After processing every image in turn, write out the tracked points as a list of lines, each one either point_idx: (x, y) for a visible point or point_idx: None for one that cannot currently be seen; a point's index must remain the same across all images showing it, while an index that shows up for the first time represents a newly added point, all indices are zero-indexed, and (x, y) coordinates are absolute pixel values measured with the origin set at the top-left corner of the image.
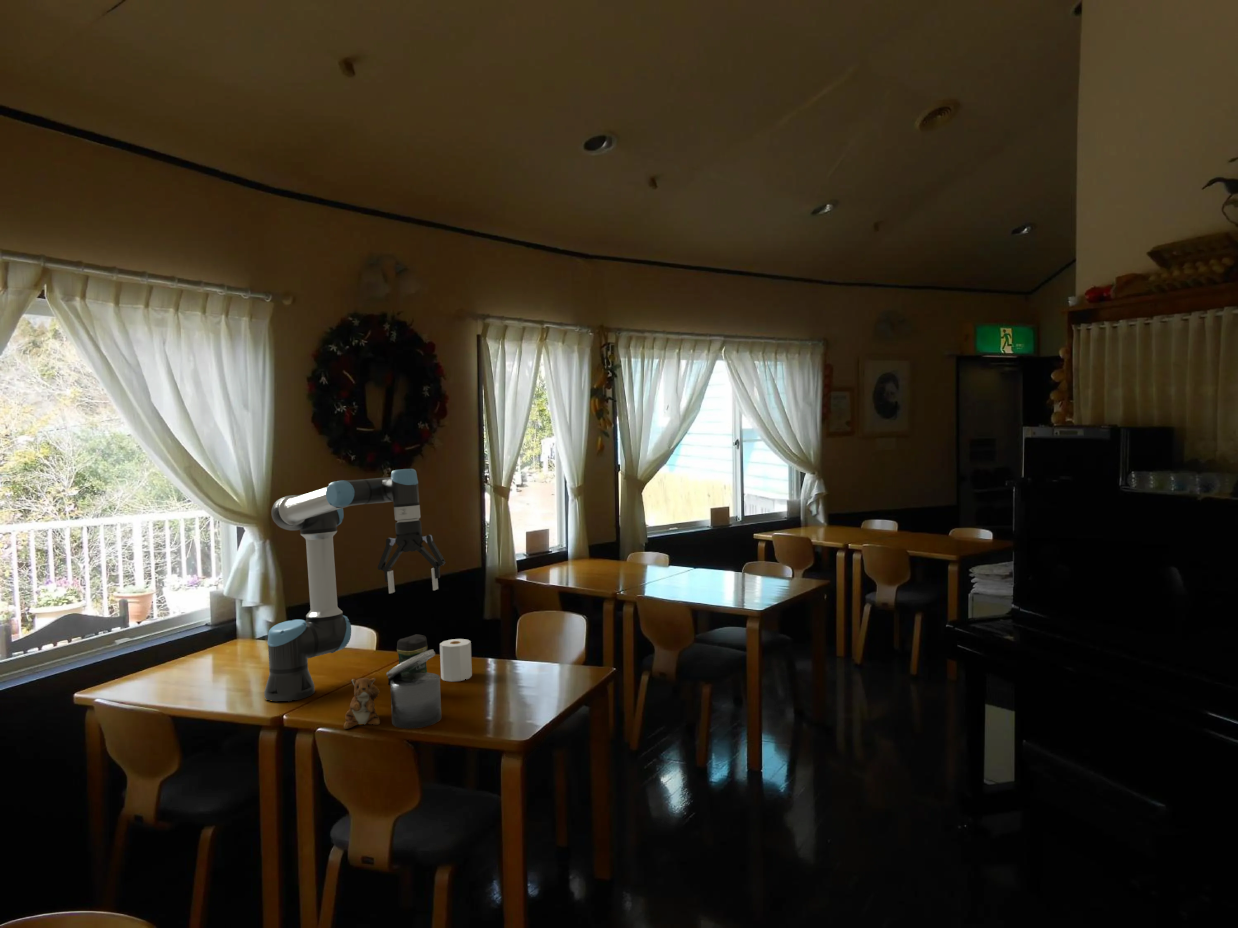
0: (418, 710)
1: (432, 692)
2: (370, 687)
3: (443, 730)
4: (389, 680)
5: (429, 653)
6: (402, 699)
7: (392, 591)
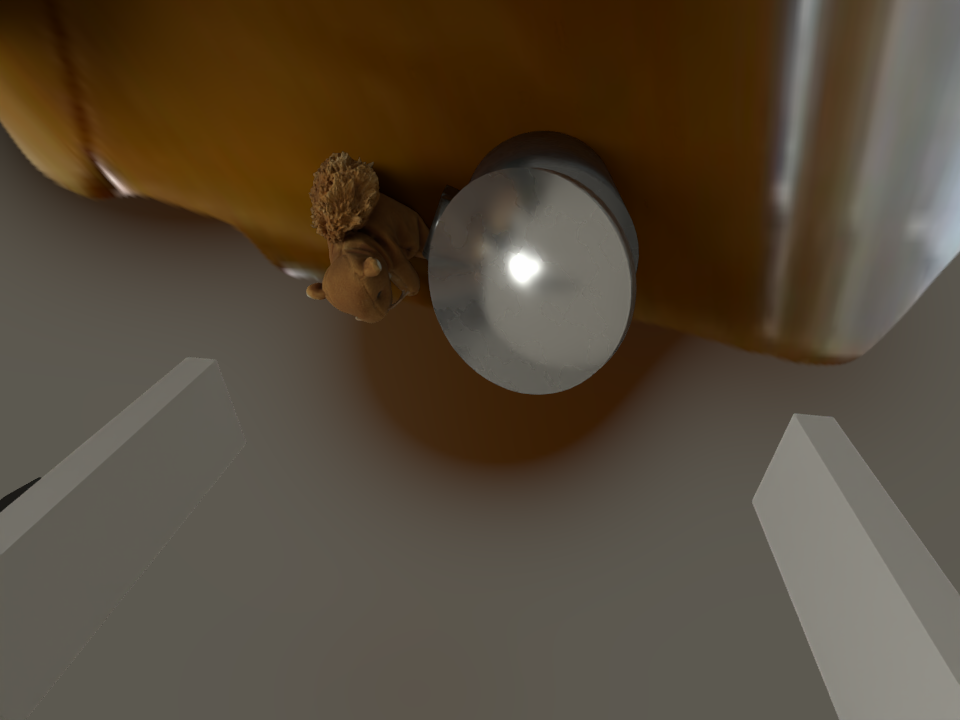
0: None
1: None
2: (384, 285)
3: (638, 295)
4: None
5: (621, 341)
6: None
7: (227, 423)
